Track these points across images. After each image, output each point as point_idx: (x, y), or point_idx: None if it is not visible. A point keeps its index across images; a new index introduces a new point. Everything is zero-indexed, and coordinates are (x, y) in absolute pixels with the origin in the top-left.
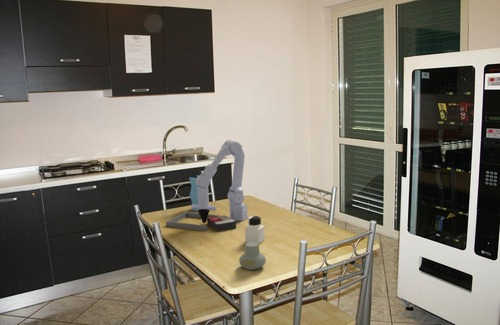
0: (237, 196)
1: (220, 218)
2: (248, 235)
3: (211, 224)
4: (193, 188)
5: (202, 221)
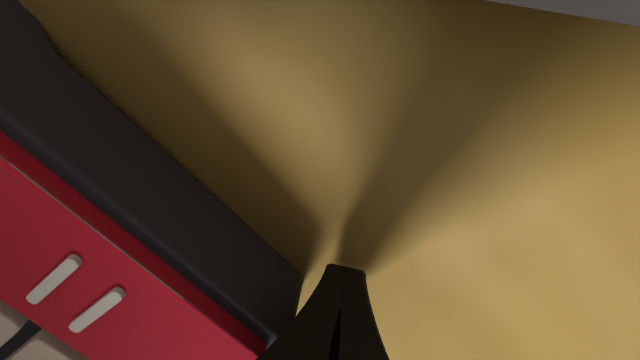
0: None
1: (36, 337)
2: None
3: (124, 154)
4: None
5: (361, 283)
